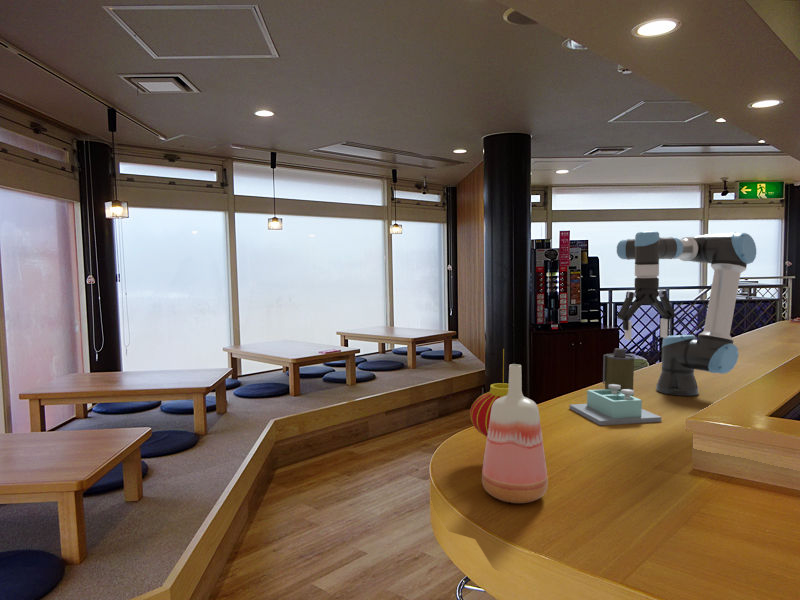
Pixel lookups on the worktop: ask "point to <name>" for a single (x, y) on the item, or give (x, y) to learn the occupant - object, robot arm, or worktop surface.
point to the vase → (514, 447)
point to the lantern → (487, 405)
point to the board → (606, 420)
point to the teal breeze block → (614, 403)
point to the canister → (618, 369)
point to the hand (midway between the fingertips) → (646, 338)
